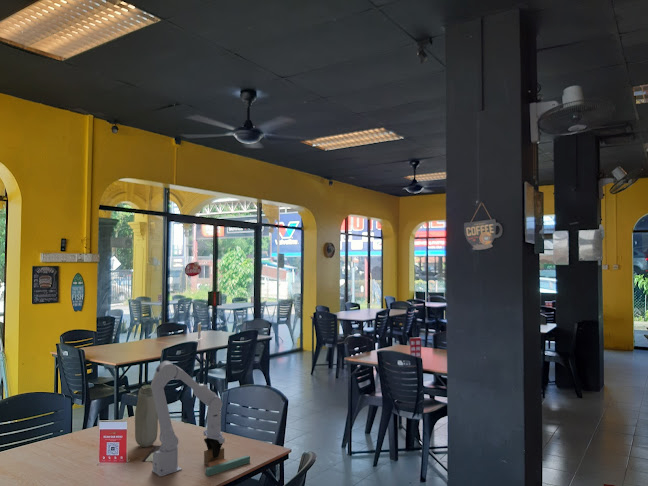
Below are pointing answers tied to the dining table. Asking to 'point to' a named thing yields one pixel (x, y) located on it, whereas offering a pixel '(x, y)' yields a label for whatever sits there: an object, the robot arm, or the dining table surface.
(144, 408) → the olive grey vase
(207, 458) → the tall cardboard box
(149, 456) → the chocolate bar
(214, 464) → the tile
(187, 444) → the dining table surface
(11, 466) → the dining table surface
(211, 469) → the rail
